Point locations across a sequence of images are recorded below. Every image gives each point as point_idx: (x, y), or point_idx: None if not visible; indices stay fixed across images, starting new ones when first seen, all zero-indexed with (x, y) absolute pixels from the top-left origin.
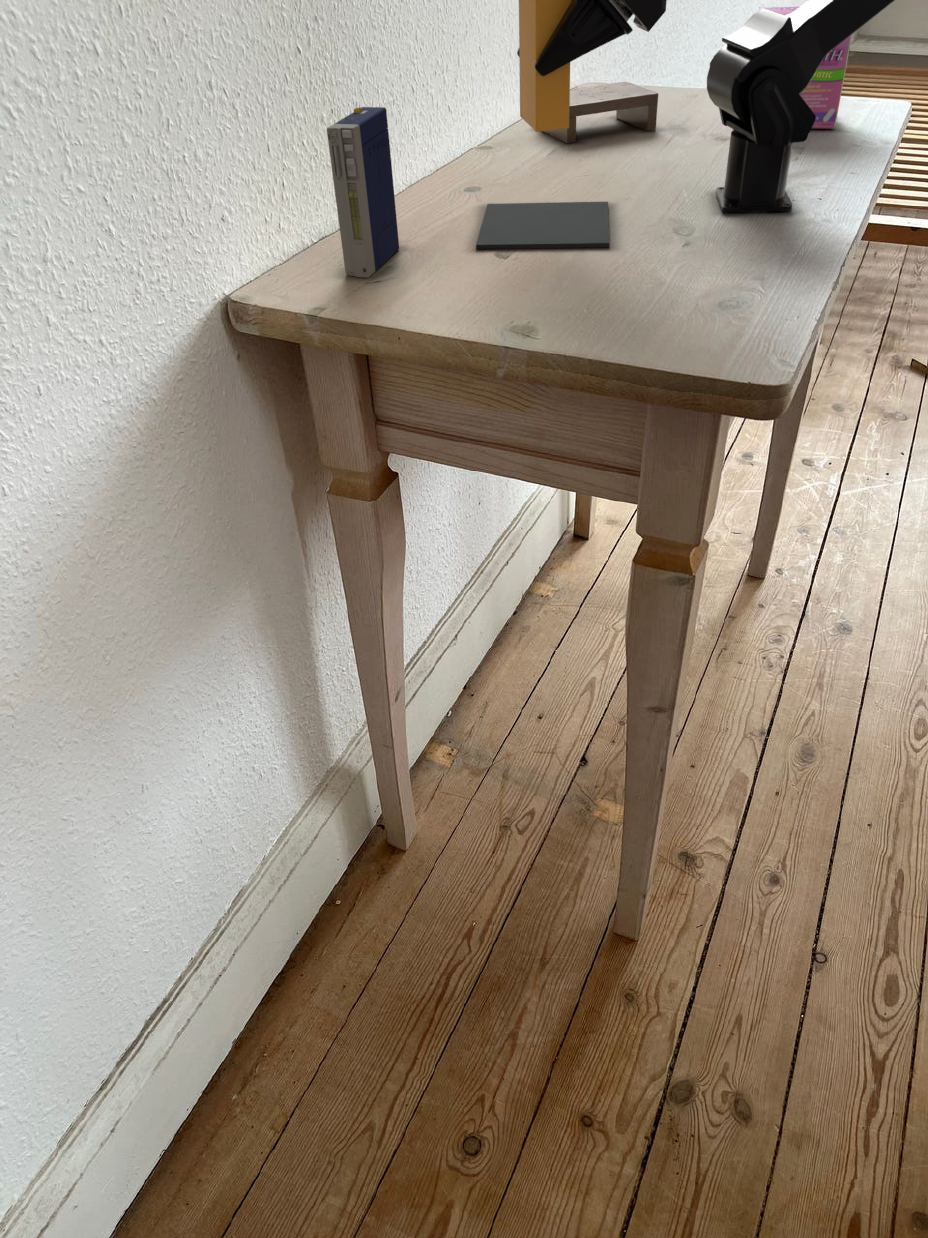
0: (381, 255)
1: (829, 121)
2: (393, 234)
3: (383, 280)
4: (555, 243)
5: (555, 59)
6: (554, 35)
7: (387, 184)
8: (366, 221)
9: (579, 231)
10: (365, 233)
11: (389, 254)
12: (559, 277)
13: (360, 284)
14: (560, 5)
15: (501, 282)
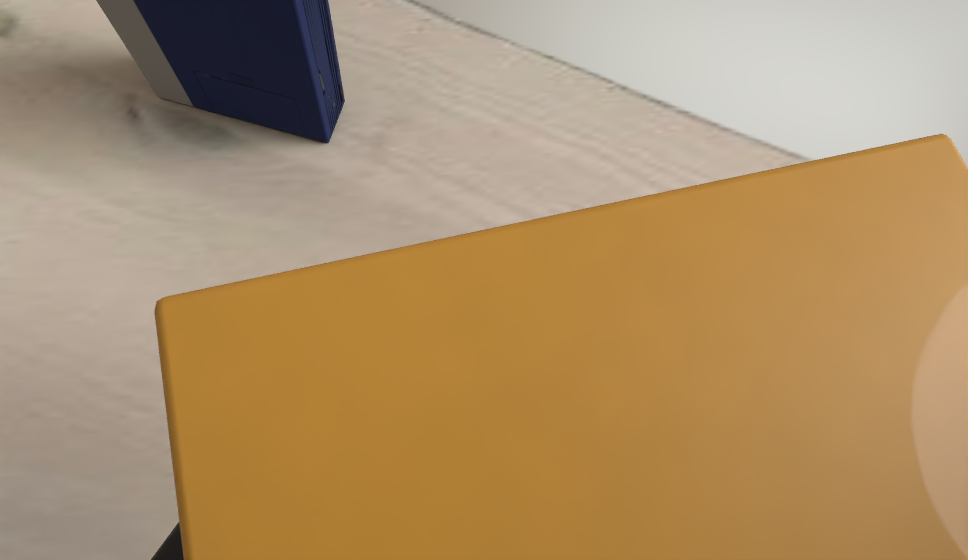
0: (223, 105)
1: None
2: (294, 114)
3: (140, 125)
4: None
5: None
6: (175, 537)
7: (266, 35)
8: (130, 25)
9: None
10: (127, 39)
11: (269, 124)
12: (56, 522)
13: (127, 85)
14: None
15: (59, 374)
